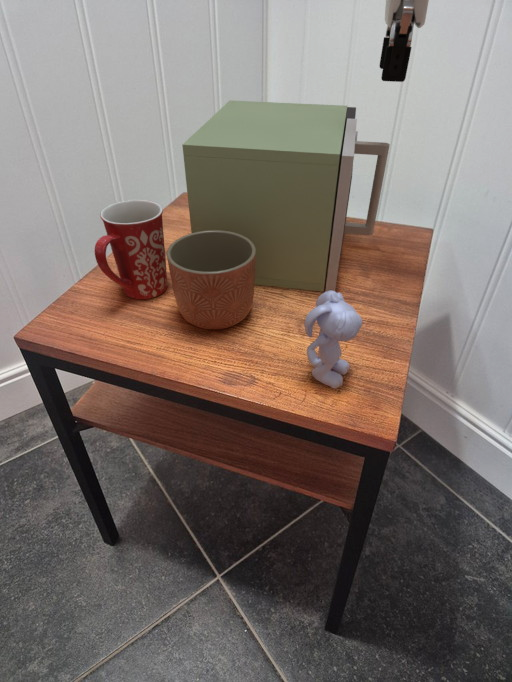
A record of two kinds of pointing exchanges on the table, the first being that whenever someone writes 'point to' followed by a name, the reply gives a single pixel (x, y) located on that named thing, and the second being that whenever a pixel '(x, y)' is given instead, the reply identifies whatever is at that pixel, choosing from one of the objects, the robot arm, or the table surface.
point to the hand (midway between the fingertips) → (391, 74)
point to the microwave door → (344, 191)
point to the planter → (213, 277)
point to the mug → (134, 247)
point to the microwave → (270, 184)
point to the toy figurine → (331, 336)
